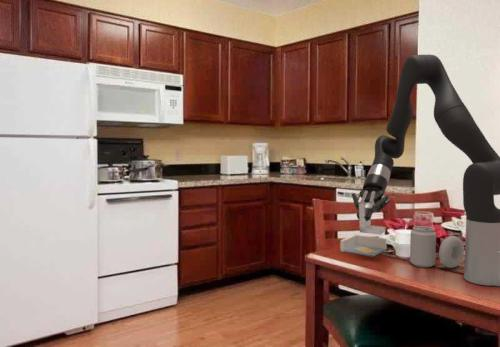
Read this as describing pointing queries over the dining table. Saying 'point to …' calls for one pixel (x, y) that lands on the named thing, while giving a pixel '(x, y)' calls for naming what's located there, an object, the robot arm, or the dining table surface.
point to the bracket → (366, 225)
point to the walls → (363, 242)
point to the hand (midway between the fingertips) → (362, 219)
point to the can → (423, 246)
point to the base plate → (364, 250)
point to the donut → (457, 252)
